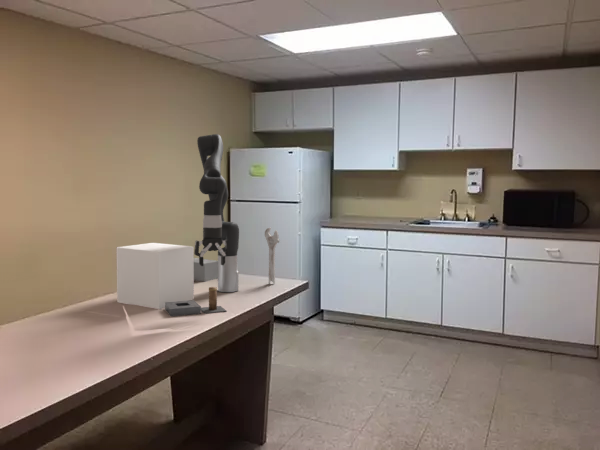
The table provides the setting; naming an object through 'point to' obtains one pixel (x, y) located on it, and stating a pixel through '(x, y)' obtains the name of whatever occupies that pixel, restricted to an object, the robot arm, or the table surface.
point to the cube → (155, 274)
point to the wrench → (271, 252)
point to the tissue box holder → (205, 270)
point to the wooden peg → (212, 298)
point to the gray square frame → (182, 308)
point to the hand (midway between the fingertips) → (212, 265)
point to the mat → (206, 310)
